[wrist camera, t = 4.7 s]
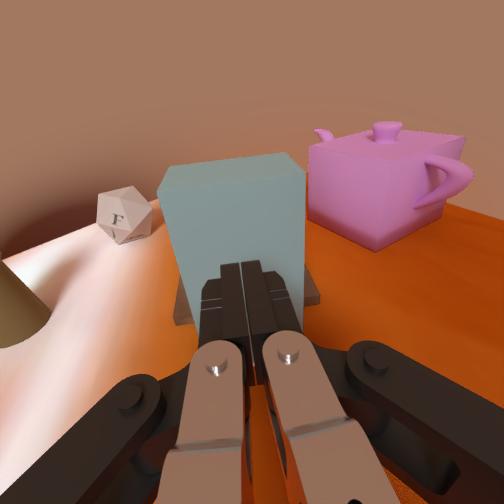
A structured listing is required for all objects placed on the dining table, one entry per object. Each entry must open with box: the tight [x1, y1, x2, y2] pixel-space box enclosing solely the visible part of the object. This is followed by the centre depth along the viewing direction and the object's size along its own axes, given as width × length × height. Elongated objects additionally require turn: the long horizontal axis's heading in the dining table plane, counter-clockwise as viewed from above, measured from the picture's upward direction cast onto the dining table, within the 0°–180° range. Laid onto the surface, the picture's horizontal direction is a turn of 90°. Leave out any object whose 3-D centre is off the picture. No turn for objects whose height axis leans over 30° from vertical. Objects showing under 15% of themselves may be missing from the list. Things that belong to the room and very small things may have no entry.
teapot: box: [308, 121, 474, 253], centre depth 40 cm, size 15×25×14 cm, turn 32°
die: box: [96, 186, 153, 245], centre depth 43 cm, size 8×9×10 cm
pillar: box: [157, 152, 306, 366], centre depth 21 cm, size 8×5×16 cm, turn 97°
